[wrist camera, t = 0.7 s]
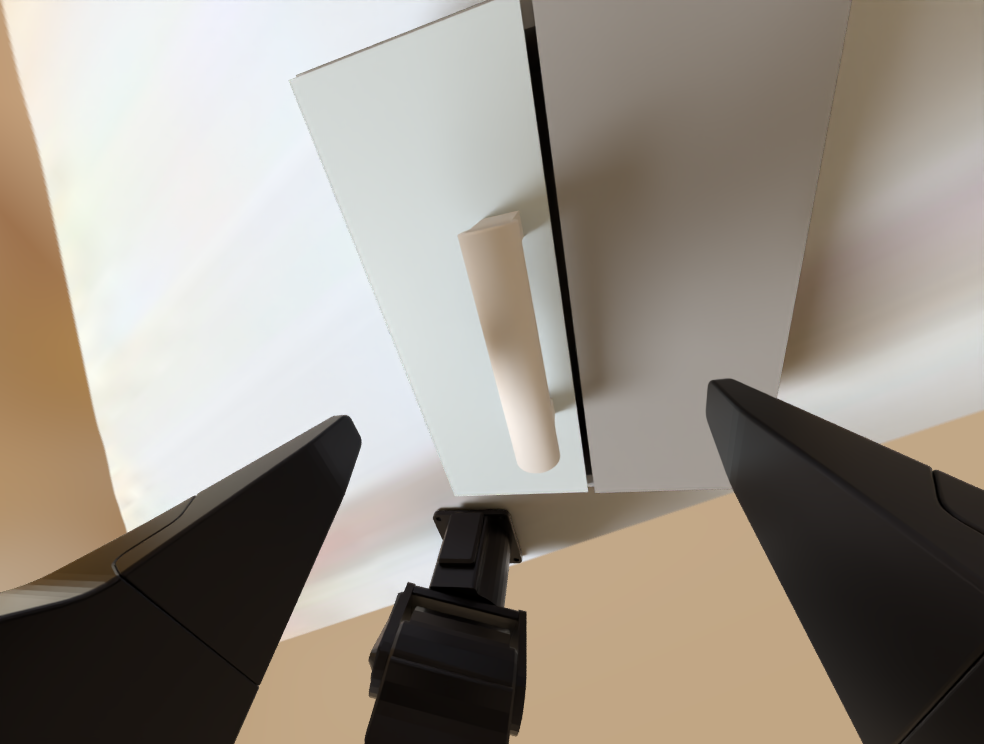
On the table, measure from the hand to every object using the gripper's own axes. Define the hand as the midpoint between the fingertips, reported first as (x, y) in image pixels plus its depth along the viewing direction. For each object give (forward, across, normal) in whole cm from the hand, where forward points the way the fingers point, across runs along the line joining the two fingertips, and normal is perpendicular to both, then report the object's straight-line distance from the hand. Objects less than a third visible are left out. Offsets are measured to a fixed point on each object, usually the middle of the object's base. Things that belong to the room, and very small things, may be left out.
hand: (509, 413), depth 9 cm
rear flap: (+6, +2, 0) cm, 6 cm away
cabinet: (+12, -2, 0) cm, 12 cm away
